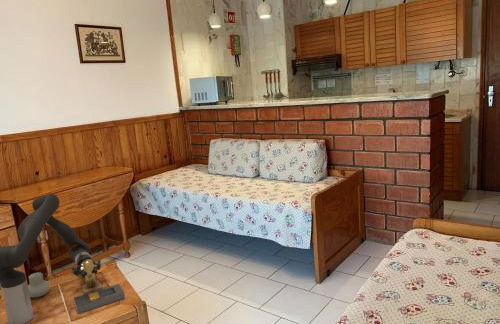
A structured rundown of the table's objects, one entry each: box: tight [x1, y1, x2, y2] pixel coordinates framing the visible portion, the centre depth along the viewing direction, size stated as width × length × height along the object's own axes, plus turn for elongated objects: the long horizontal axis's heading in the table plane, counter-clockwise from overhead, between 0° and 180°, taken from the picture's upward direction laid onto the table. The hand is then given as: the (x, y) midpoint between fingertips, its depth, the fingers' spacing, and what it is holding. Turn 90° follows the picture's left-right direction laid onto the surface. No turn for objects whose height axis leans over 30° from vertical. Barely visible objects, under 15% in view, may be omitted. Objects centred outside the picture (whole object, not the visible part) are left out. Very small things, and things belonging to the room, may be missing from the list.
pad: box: [81, 280, 103, 295], centre depth 189 cm, size 8×8×2 cm
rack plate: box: [73, 283, 126, 315], centre depth 179 cm, size 20×10×3 cm, turn 121°
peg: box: [82, 258, 97, 287], centre depth 187 cm, size 4×4×12 cm
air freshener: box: [27, 271, 51, 298], centre depth 188 cm, size 11×8×10 cm
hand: (90, 273), depth 185 cm, fingers closed on peg, 4 cm apart
